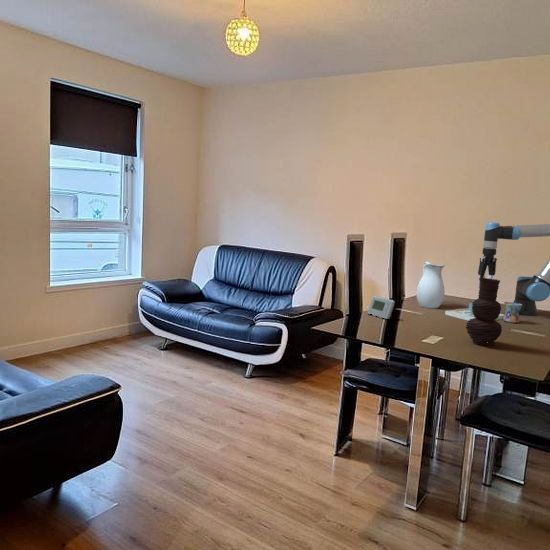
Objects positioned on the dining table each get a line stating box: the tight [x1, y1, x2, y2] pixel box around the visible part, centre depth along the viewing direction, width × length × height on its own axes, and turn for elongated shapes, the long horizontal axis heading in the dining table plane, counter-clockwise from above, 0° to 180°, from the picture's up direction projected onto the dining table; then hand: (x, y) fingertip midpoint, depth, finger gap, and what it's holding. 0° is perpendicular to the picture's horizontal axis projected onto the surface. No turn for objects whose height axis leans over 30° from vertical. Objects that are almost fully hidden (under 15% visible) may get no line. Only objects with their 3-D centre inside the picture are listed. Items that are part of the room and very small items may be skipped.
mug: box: [502, 301, 522, 324], centre depth 280 cm, size 12×9×11 cm
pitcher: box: [415, 261, 446, 309], centre depth 313 cm, size 24×17×28 cm
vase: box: [465, 277, 503, 346], centre depth 225 cm, size 15×15×30 cm
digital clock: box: [367, 295, 395, 320], centre depth 271 cm, size 16×9×11 cm, turn 22°
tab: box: [467, 301, 474, 311], centre depth 295 cm, size 4×5×5 cm
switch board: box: [444, 307, 505, 322], centre depth 289 cm, size 30×20×3 cm, turn 122°
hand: (485, 285), depth 298 cm, fingers open, 6 cm apart
